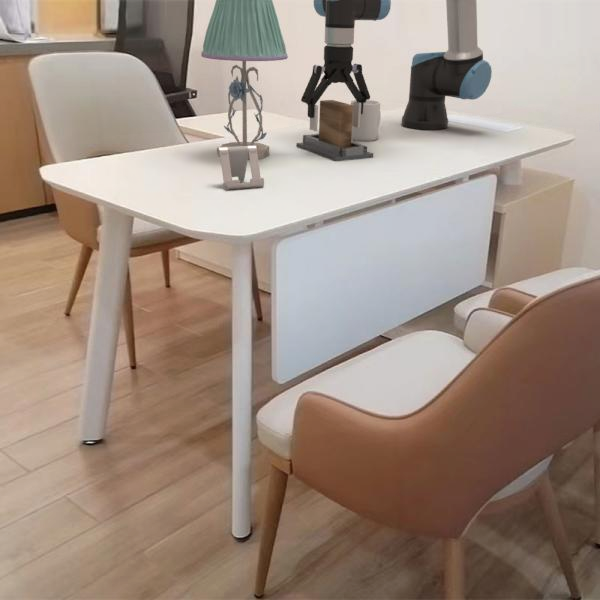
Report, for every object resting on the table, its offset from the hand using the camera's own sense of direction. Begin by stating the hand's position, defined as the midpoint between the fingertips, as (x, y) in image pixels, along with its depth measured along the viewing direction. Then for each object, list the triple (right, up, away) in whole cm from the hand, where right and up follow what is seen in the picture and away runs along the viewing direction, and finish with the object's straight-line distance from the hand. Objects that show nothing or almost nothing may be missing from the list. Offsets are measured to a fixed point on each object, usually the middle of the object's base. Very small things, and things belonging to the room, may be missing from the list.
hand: (335, 128), depth 198 cm
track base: (0, -6, +2) cm, 6 cm away
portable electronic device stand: (-23, -21, -33) cm, 45 cm away
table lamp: (-24, -8, -4) cm, 26 cm away
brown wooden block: (0, -5, +2) cm, 5 cm away
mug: (+11, +2, +22) cm, 25 cm away
